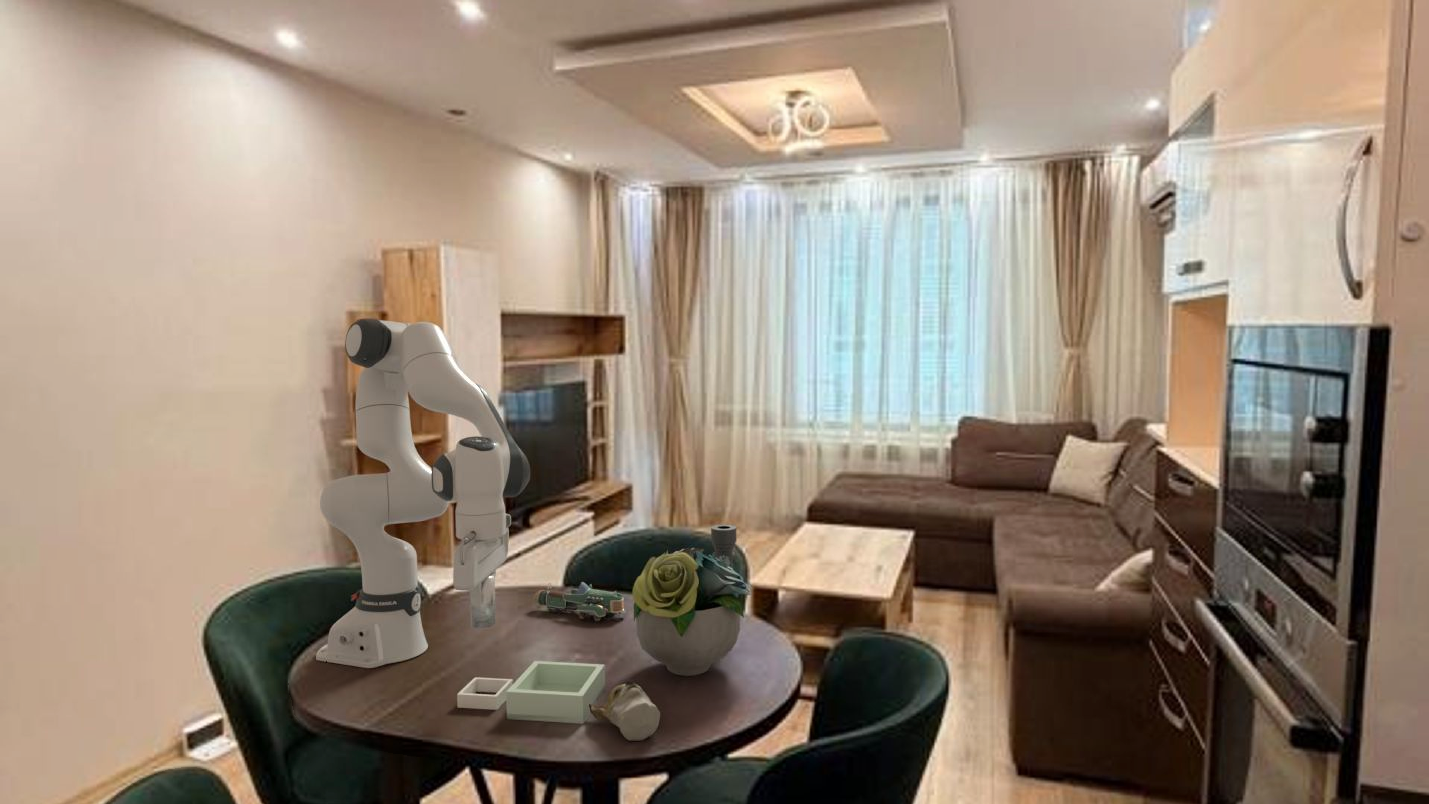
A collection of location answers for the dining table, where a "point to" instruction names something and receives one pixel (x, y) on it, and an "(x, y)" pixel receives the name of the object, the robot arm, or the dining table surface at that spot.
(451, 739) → the dining table surface
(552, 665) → the tray
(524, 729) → the dining table surface
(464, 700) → the socket collar
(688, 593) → the flower arrangement
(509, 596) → the dining table surface
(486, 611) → the clear glass cylinder
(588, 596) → the green metal elongated vehicle
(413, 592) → the robot arm
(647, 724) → the ceramic sculpture
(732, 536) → the candle holder
